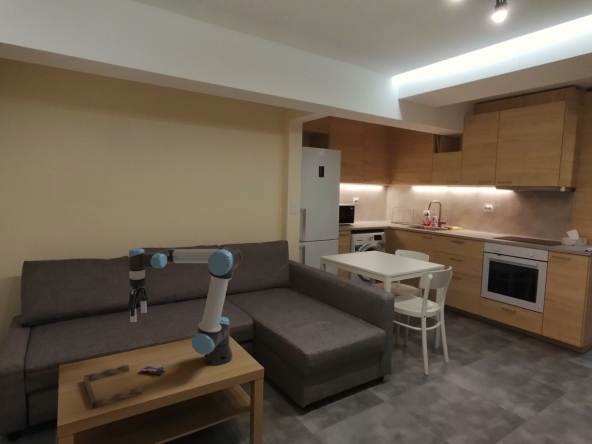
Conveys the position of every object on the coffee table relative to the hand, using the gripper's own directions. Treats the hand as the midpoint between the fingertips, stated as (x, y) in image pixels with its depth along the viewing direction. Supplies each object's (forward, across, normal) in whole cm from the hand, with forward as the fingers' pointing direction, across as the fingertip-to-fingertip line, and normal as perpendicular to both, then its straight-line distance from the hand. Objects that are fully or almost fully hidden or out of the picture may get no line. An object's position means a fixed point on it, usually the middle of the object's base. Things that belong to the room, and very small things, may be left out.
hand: (138, 317), depth 187 cm
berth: (+25, +24, -3) cm, 35 cm away
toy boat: (+27, +14, +14) cm, 33 cm away
